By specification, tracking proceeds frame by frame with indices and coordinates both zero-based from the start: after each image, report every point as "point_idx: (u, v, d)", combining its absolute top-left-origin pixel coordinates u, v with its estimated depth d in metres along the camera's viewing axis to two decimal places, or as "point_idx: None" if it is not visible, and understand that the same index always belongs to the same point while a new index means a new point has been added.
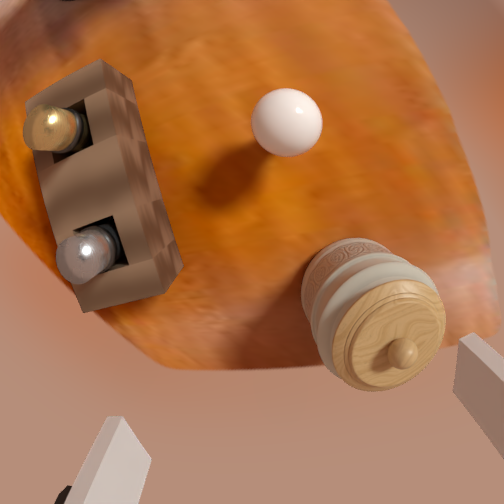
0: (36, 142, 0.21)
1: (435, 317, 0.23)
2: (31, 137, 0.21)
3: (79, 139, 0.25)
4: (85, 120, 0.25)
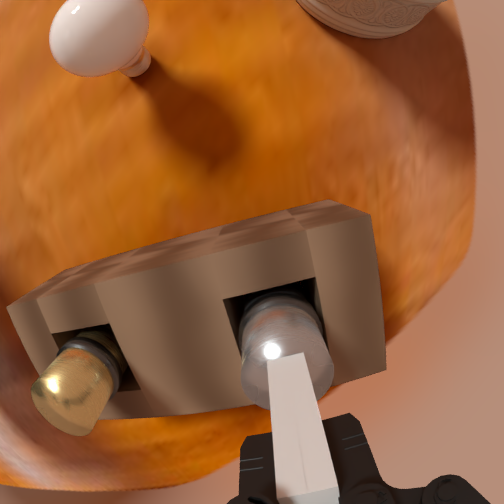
0: (81, 418, 0.13)
1: None
2: (76, 423, 0.13)
3: (99, 345, 0.16)
4: (80, 333, 0.18)
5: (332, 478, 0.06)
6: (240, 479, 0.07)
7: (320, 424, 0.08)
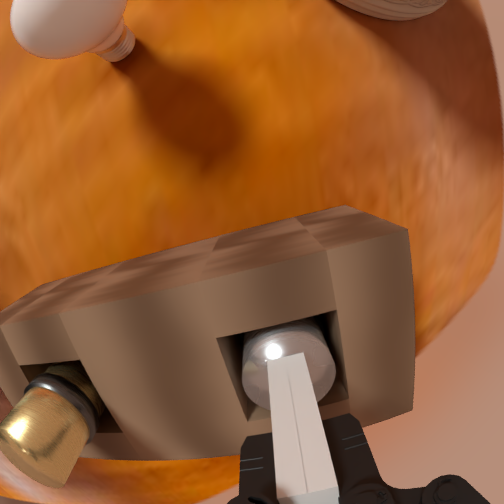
0: (51, 472, 0.09)
1: None
2: (46, 476, 0.09)
3: (69, 385, 0.12)
4: (50, 367, 0.14)
5: (332, 478, 0.06)
6: (239, 479, 0.07)
7: (320, 424, 0.08)
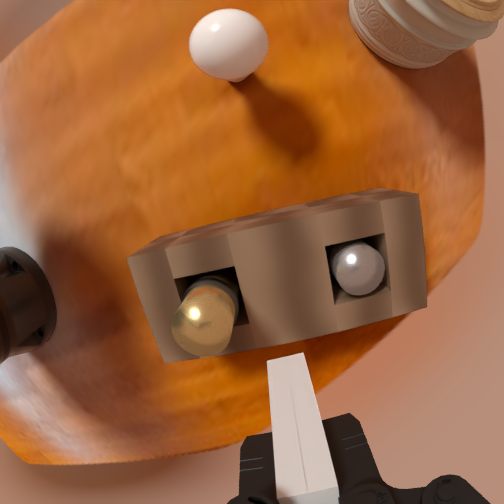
0: (220, 335, 0.20)
1: None
2: (212, 342, 0.20)
3: (225, 283, 0.24)
4: (201, 278, 0.25)
5: (332, 478, 0.06)
6: (240, 479, 0.07)
7: (320, 424, 0.08)
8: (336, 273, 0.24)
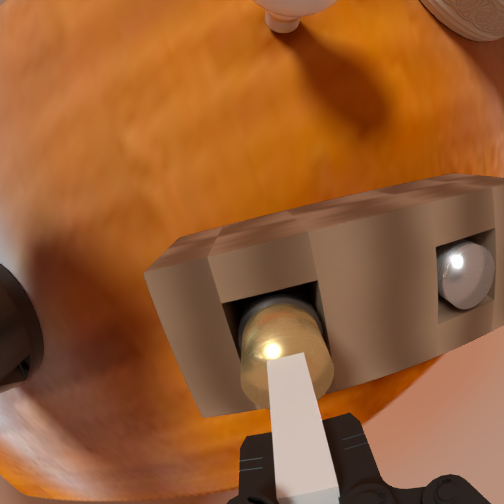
0: (317, 381, 0.13)
1: None
2: None
3: (303, 299, 0.16)
4: None
5: (332, 478, 0.06)
6: (239, 480, 0.07)
7: (320, 424, 0.08)
8: (445, 282, 0.16)
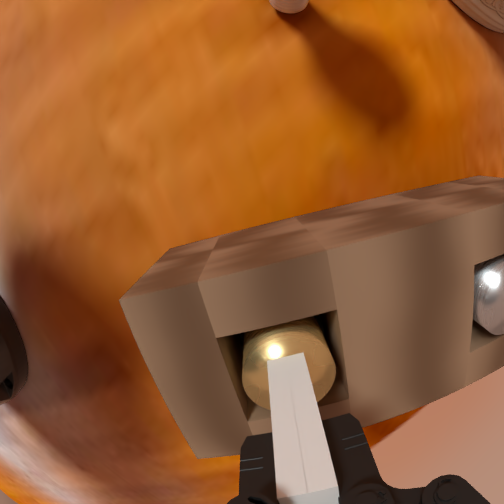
0: (319, 381, 0.13)
1: None
2: None
3: None
4: None
5: (332, 478, 0.06)
6: (240, 479, 0.07)
7: (320, 424, 0.08)
8: (482, 306, 0.12)
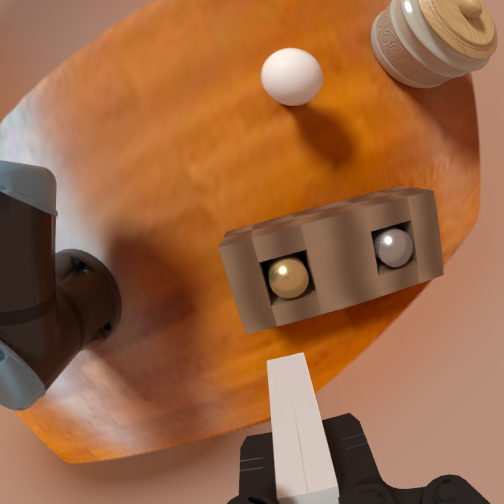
0: (302, 282, 0.32)
1: None
2: (296, 287, 0.32)
3: None
4: None
5: (332, 478, 0.06)
6: (240, 479, 0.07)
7: (320, 424, 0.08)
8: (379, 251, 0.32)
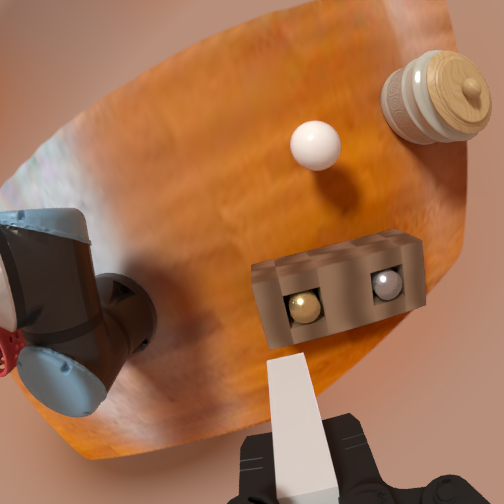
0: (315, 311, 0.41)
1: (449, 61, 0.27)
2: (310, 315, 0.41)
3: None
4: None
5: (332, 478, 0.06)
6: (240, 480, 0.07)
7: (320, 424, 0.08)
8: (375, 288, 0.40)
